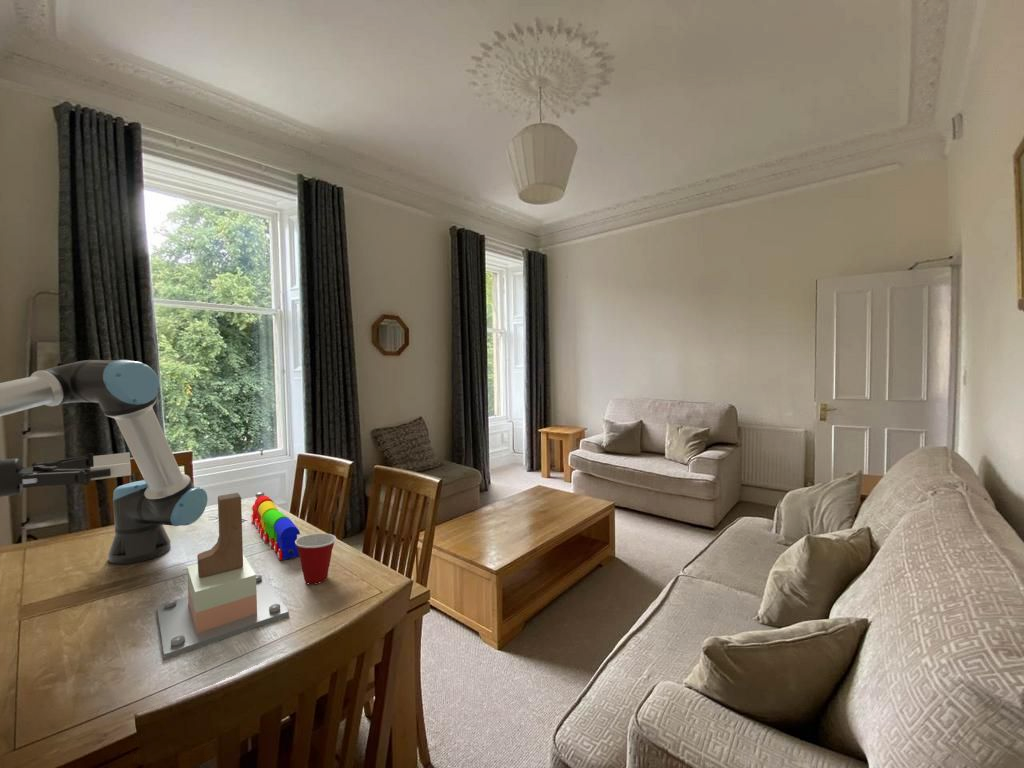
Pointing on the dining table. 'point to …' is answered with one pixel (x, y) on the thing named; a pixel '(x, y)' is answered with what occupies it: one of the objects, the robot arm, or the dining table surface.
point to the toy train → (275, 527)
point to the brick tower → (217, 609)
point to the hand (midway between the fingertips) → (130, 463)
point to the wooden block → (225, 539)
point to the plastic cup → (315, 555)
